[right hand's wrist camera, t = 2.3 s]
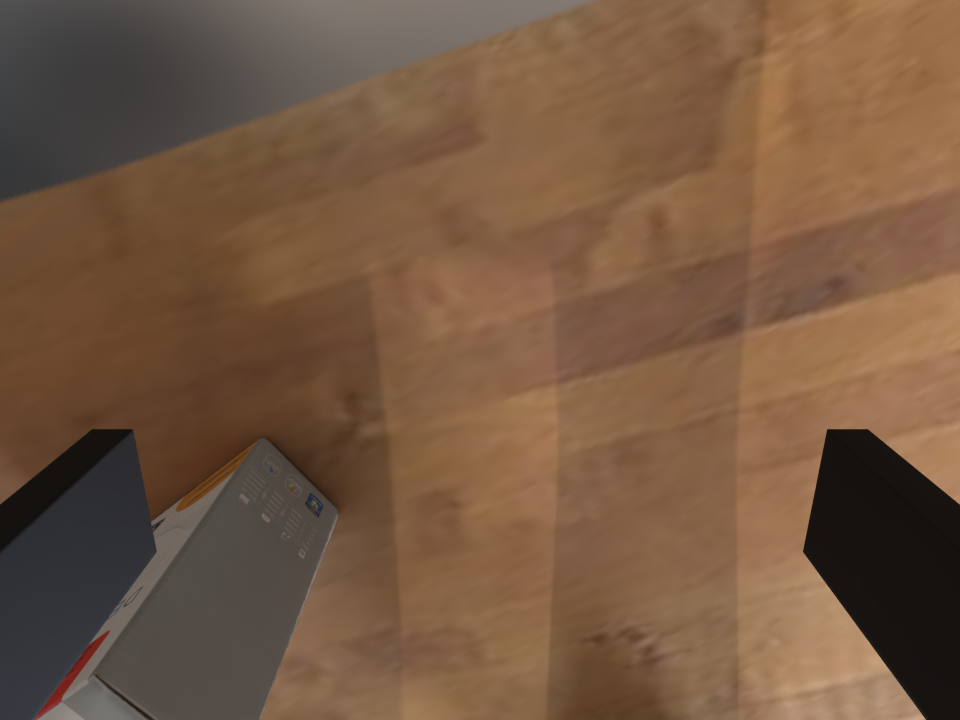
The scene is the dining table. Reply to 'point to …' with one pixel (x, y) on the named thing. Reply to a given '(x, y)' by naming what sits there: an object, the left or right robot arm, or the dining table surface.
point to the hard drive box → (208, 601)
